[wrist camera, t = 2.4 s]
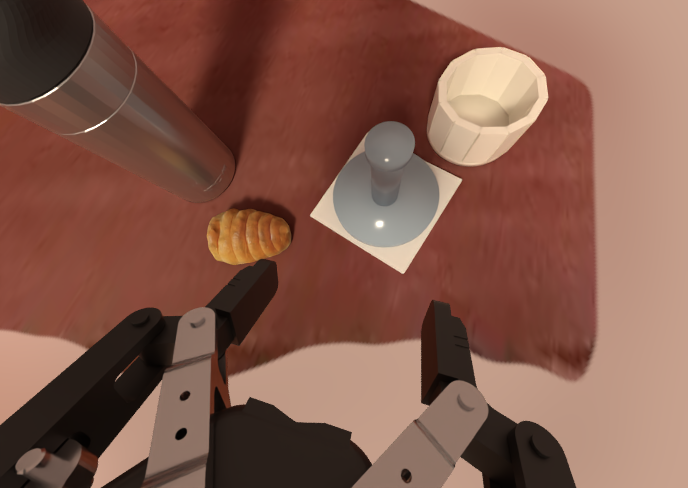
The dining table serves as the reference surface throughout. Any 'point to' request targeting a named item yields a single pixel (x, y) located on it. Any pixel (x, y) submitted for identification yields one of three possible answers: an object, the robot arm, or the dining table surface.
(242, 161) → the dining table surface
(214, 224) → the pastry
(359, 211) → the lid
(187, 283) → the dining table surface
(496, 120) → the cup
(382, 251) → the mat
